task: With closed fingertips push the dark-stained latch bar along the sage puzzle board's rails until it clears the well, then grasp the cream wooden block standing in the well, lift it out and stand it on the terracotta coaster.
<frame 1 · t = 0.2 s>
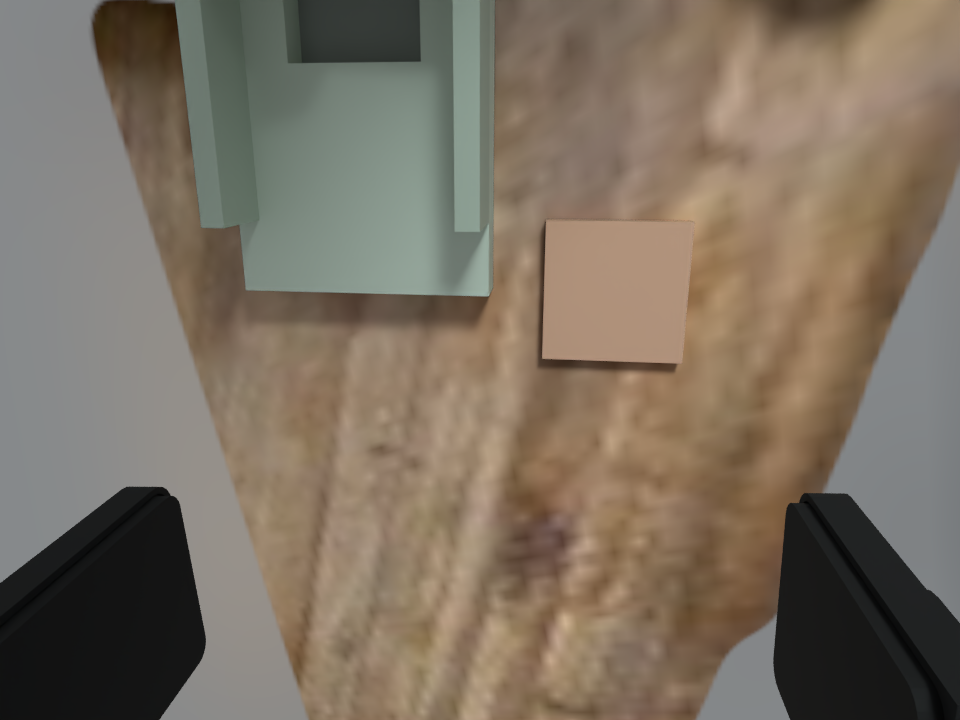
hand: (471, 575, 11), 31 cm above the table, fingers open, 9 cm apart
puzzle board: (365, 47, 38), on the table
terracotta coaster: (614, 290, 40), on the table
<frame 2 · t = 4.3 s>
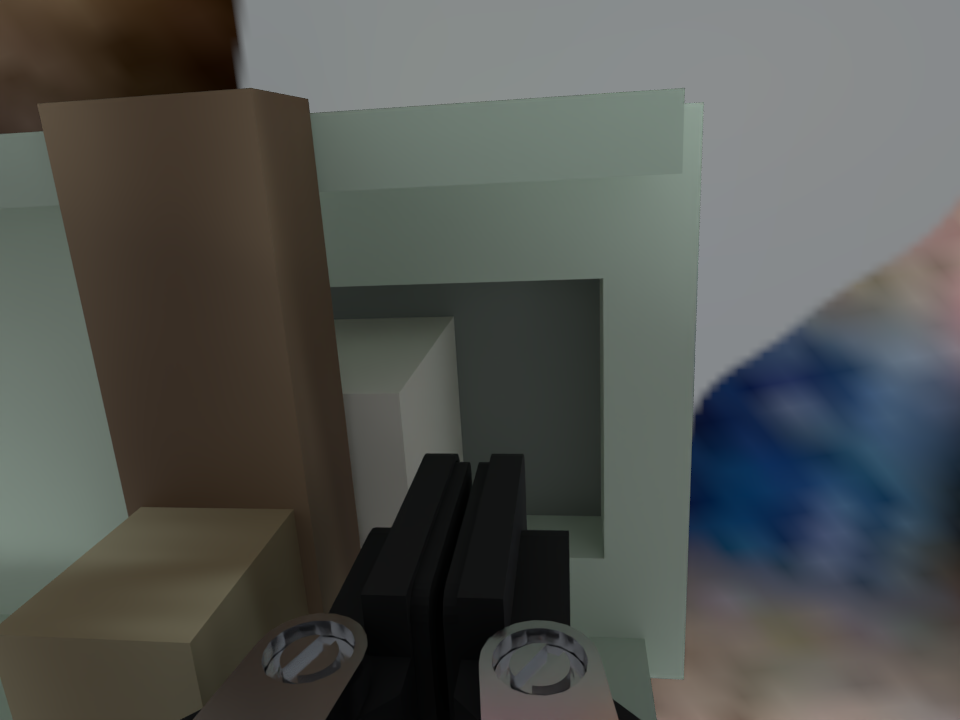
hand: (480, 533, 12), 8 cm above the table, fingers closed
puzzle board: (213, 395, 20), on the table
cream block: (378, 398, 19), resting on puzzle board
latch bar: (213, 597, 11), point 9 cm above the table, slide at 0.2 cm, touching gripper
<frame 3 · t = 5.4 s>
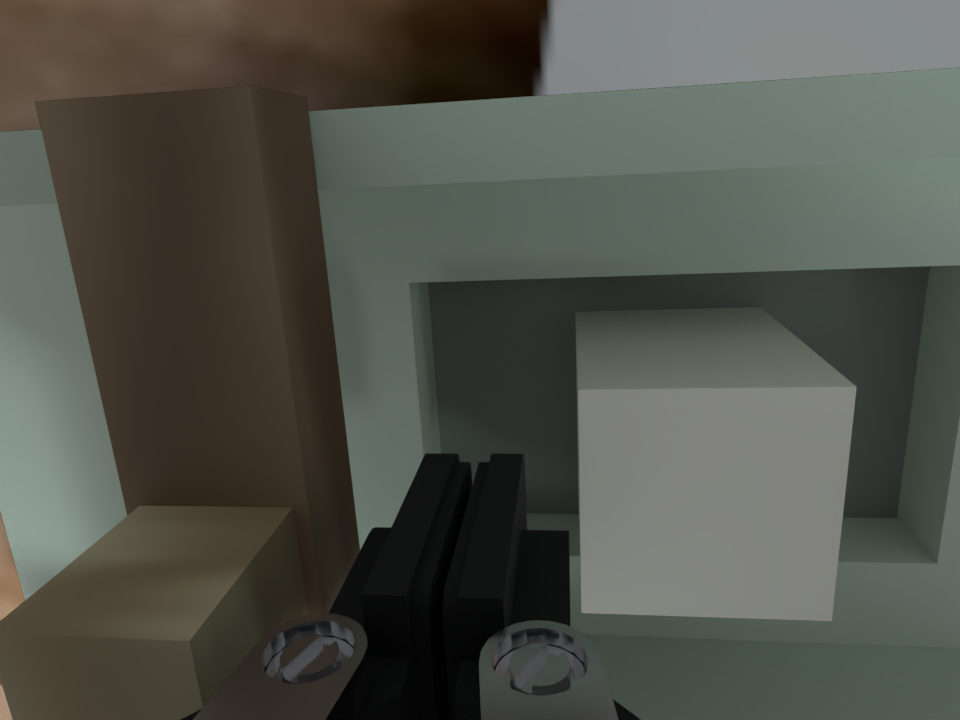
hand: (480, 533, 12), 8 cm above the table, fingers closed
puzzle board: (475, 391, 19), on the table
cream block: (664, 394, 18), resting on puzzle board
latch bar: (212, 596, 11), point 9 cm above the table, slide at 7.8 cm, touching gripper
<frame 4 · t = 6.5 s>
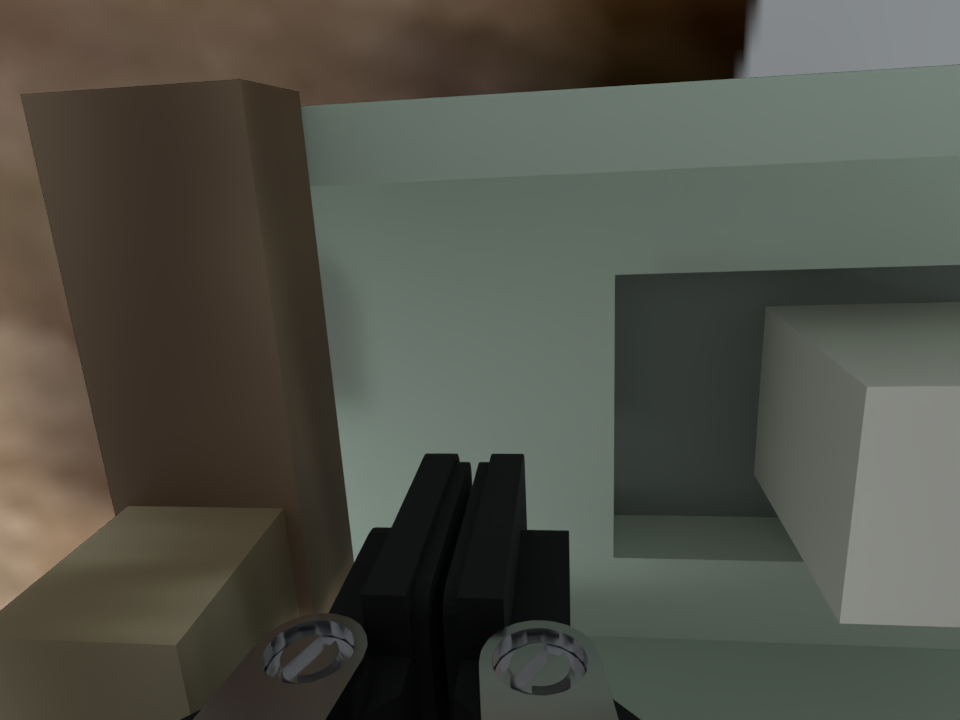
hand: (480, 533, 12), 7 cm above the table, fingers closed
puzzle board: (646, 389, 18), on the table
cream block: (853, 392, 17), resting on puzzle board
latch bar: (201, 598, 10), point 9 cm above the table, slide at 12.5 cm, touching gripper
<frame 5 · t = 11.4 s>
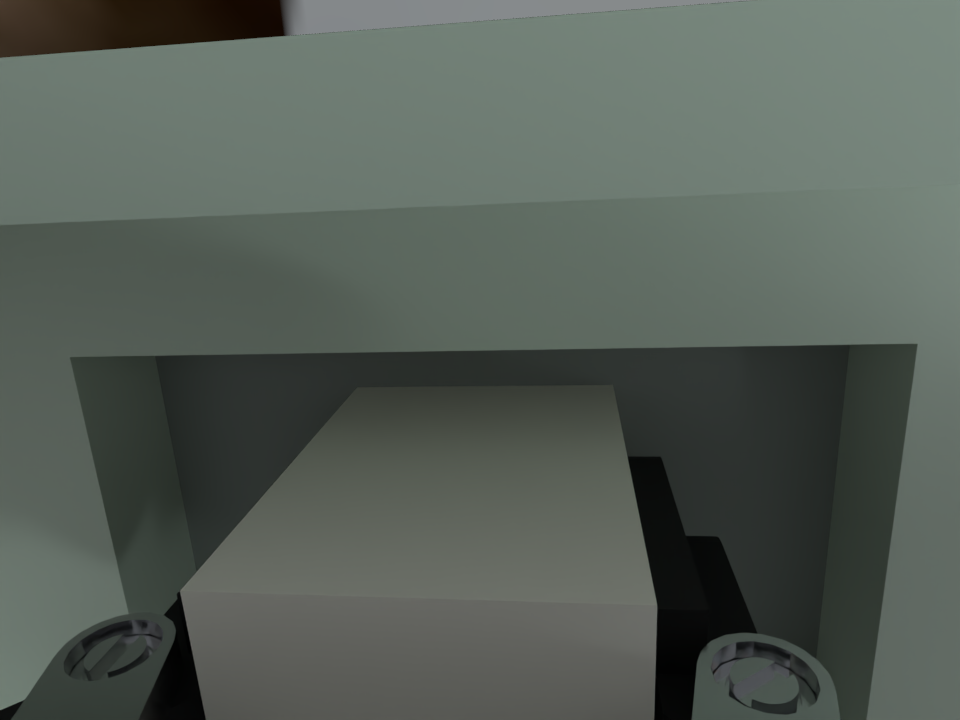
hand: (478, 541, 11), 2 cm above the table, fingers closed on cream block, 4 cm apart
puzzle board: (240, 489, 14), on the table
cream block: (488, 501, 13), resting on puzzle board, touching gripper
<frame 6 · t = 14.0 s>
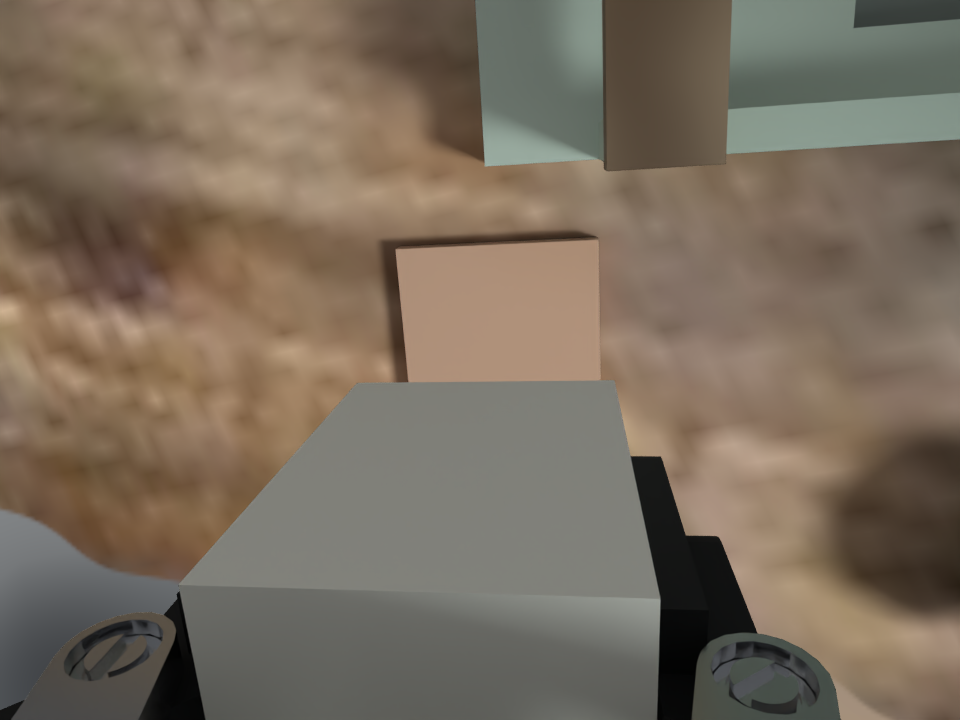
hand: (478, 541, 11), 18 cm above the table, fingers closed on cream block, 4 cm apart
cream block: (488, 498, 13), point 17 cm above the table, touching gripper
terracotta coaster: (502, 337, 29), on the table
when the fingers open (4 cm above the table, at t = 16.7 s): cream block drops 1 cm, resting on terracotta coaster.
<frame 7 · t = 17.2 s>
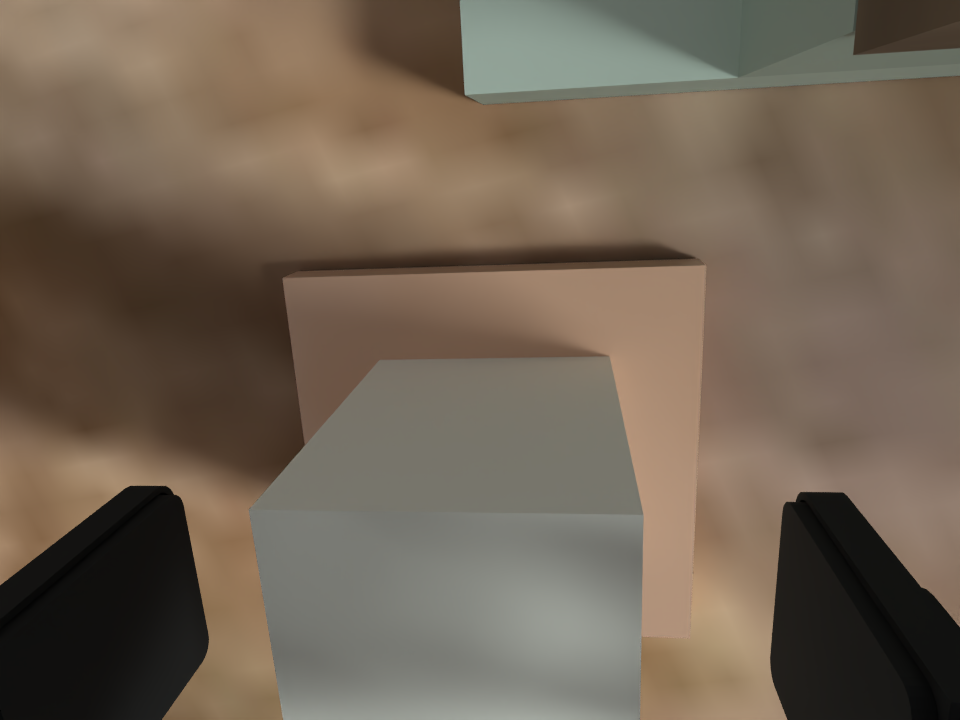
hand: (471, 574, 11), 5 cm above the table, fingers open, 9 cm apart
cream block: (497, 463, 14), point 1 cm above the table, touching terracotta coaster
terracotta coaster: (499, 450, 15), on the table
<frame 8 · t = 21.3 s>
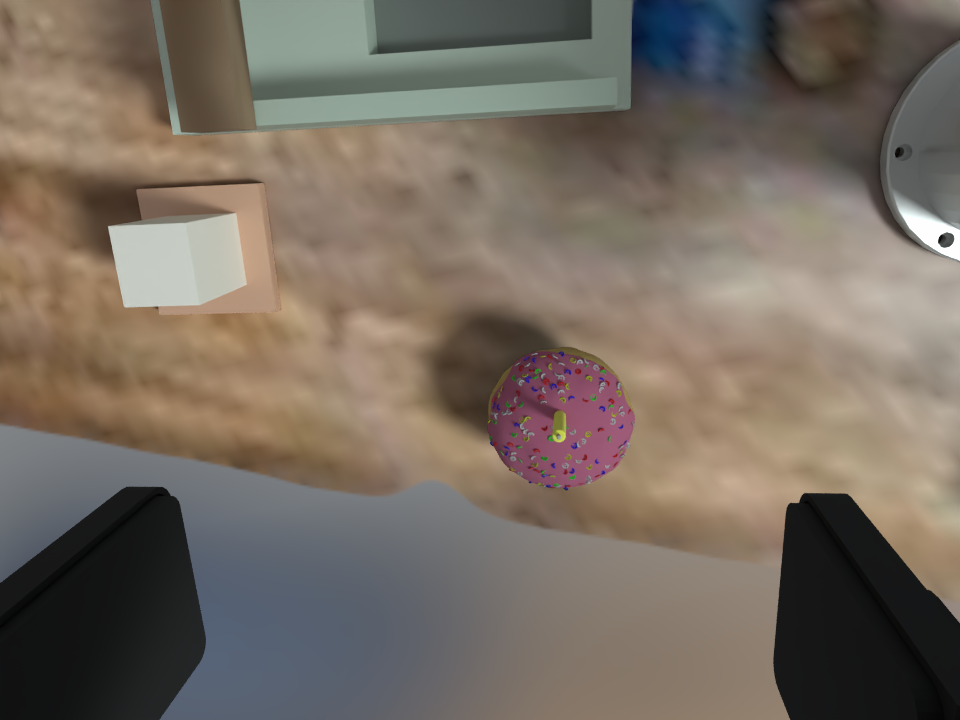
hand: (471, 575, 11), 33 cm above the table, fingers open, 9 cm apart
cupcake: (560, 392, 45), on the table
cream block: (207, 250, 44), point 1 cm above the table, touching terracotta coaster
terracotta coaster: (213, 249, 45), on the table
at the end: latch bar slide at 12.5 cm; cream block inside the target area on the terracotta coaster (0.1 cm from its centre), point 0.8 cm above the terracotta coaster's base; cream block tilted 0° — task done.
